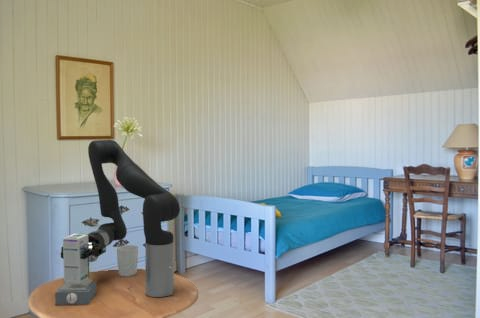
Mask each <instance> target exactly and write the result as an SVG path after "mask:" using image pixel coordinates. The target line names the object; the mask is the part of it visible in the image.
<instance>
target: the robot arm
mask: <svg viewBox="0 0 480 318" xmlns="http://www.w3.org/2000/svg"><path fill="white" fill-rule="evenodd" d="M87 150H88V151H87V154H88V155H87V156H88V159H89V163H90V167H91V171H92V174H93V178H94V181H95V185H96V188H97V194H98V199H99V200H98V201H99V208H100V215H101V217H104V218H110V219H111V220H112V221H113V222H106V223H102V224H100V225H99V227H98V228H97V229H95V230H93V231H90V232H89V233H88V242H89V249H88V250H86V251H84V252H83V253H82V259H86V258H88V257H89V258H91V257H99V256H101V255H103V254H105V253H106V252H107V247H108V246H110V245H111V244H112V243H113V242H114V241H122V240H124V239H125V238H126V236H127V234H128V233H127V232H128V231H127V226H126V224H125V221H124V220H123V217H122V213H121V211H120V205H119V203H120V202H119V197H118V193H117V191H116V189H115V187H114V186H113V185H112V183H111V182H110V181H109V179H108V178H107V175H106V174H105V172H104V170H103V169H104V168H103V164H114V165H115V166H116V171H115V178H116V181H117V182H118V183H119V184H120V185H121V186H122V188H124V189H125V190H126V192H127V193H129V194H131V195H135V196H137V197H140V198H143V199H144V201H143V203H142V204H143V205H142V218H143V220H142V221H143V234H144V238H145V252H144V253H145V256H144V257H145V286H144V287H145V289H144V290H145V295H146V296H148V297H152V298H162V297H168V296H174V290H175V262H174V233H172V232H171V231H168V230H164V229H163V228H162V223H164V222H170V221H173V220H175V219H176V218H178V217H179V215H180V212H181V208H180V203H179V201H178V199H177V198H176V197H175V196H174V194H172V193H171V192H170V191H168V190H167V189H165V188H164V187H162V185H160V184H159V183H157V182H156V180H154V179H153V178H151V176H150V175H148V174H147V172H145V171H144V170H143V169H142V168H141V167H140V166H139V164H136V162H134V161H133V159H132V158H131V157H130V156H128V154H127V153H126V151H124V150H123V148H122V147H121V146H120V144H119V143H118V142H117V141H115V140H114V139H102V140H98V139H97V140H92V141H90V143H89V144H88V149H87ZM60 257H61V259H63V246H61V251H60Z"/></svg>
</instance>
